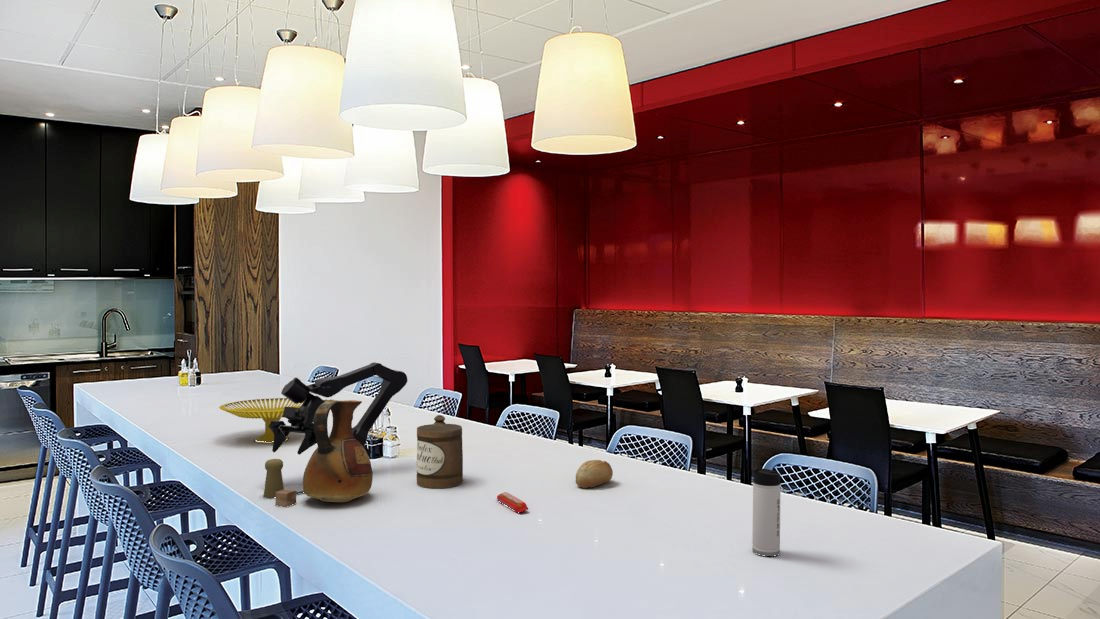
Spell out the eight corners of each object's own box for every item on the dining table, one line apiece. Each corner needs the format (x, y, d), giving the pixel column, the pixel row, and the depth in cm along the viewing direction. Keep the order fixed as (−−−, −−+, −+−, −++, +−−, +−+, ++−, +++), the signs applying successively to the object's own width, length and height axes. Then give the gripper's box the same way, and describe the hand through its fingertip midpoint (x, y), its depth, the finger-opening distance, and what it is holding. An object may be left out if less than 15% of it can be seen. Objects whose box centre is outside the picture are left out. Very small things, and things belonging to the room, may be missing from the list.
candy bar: (494, 501, 217) (494, 491, 217) (506, 499, 219) (506, 489, 219) (517, 515, 203) (518, 505, 203) (529, 514, 205) (529, 503, 205)
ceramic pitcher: (385, 493, 224) (385, 396, 223) (346, 512, 205) (346, 405, 204) (330, 488, 230) (330, 393, 229) (288, 505, 211) (288, 401, 210)
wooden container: (407, 483, 237) (407, 415, 236) (443, 475, 248) (443, 410, 247) (436, 491, 227) (436, 420, 226) (472, 482, 238) (472, 415, 237)
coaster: (304, 485, 233) (304, 483, 233) (318, 490, 227) (318, 487, 227) (281, 490, 227) (281, 487, 227) (293, 495, 221) (293, 492, 221)
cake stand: (302, 450, 286) (302, 412, 285) (200, 449, 286) (200, 411, 286) (334, 431, 326) (334, 398, 326) (244, 430, 326) (244, 397, 326)
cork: (277, 499, 217) (277, 462, 217) (259, 497, 218) (259, 461, 218) (288, 493, 223) (288, 457, 223) (270, 492, 224) (270, 456, 224)
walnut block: (285, 502, 214) (285, 488, 214) (296, 504, 213) (296, 490, 212) (275, 506, 210) (275, 492, 210) (286, 507, 209) (286, 493, 209)
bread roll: (620, 483, 238) (621, 458, 238) (592, 492, 227) (592, 466, 227) (597, 478, 245) (597, 454, 245) (568, 486, 233) (569, 461, 233)
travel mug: (747, 548, 177) (747, 466, 176) (773, 547, 177) (774, 465, 177) (756, 557, 170) (757, 472, 170) (784, 557, 171) (785, 471, 171)
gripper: (272, 395, 234) (248, 435, 223) (322, 398, 228) (299, 439, 218) (288, 416, 241) (265, 456, 231) (336, 419, 236) (315, 460, 225)
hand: (285, 452), depth 226 cm, fingers open, 9 cm apart
